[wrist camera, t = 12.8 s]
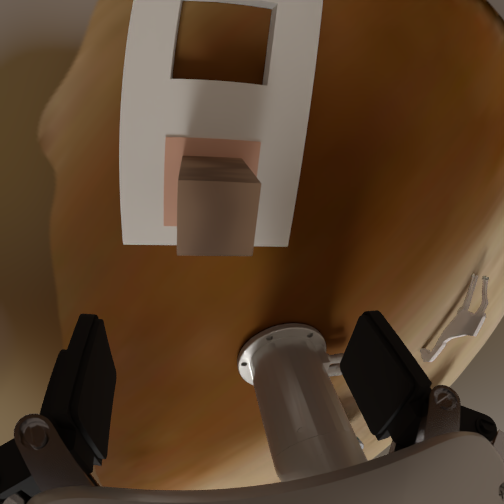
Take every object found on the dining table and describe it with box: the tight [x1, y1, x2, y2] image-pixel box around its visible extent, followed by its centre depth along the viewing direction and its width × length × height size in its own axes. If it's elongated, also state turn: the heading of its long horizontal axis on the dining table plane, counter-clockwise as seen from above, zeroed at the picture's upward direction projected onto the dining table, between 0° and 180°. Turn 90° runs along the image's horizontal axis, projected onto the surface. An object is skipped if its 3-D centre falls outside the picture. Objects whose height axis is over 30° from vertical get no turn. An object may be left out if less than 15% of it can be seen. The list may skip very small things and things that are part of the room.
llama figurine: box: [420, 273, 489, 362], centre depth 44 cm, size 2×11×18 cm
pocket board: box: [119, 0, 323, 247], centre depth 23 cm, size 16×26×2 cm, turn 173°
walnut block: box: [177, 156, 261, 256], centre depth 22 cm, size 5×5×8 cm
